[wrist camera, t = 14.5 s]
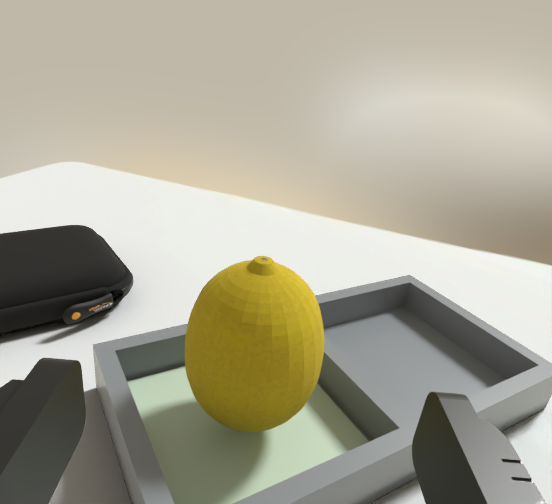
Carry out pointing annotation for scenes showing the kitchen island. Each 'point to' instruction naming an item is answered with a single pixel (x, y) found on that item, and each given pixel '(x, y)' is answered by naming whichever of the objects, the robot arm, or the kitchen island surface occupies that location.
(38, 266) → the carrying case or bag
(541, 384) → the organiser tray
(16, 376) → the kitchen island surface
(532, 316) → the kitchen island surface
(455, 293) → the kitchen island surface
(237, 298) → the lemon
